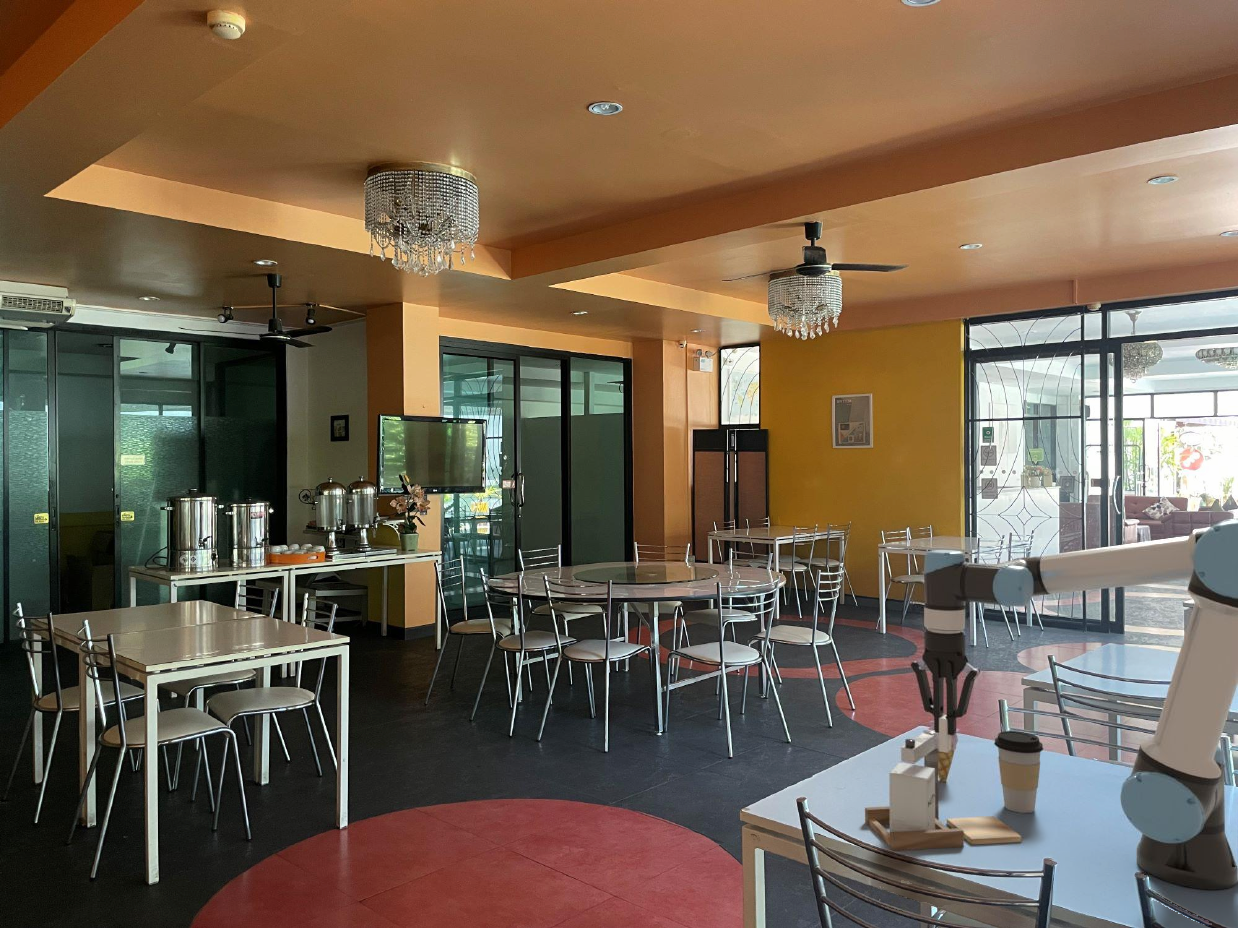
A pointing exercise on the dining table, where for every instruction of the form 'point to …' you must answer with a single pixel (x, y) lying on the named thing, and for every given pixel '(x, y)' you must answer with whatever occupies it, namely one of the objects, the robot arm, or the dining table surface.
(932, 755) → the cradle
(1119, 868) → the dining table surface
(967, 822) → the pad
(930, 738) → the bar
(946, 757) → the ice cream cone
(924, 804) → the supplement box
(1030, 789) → the coffee cup
